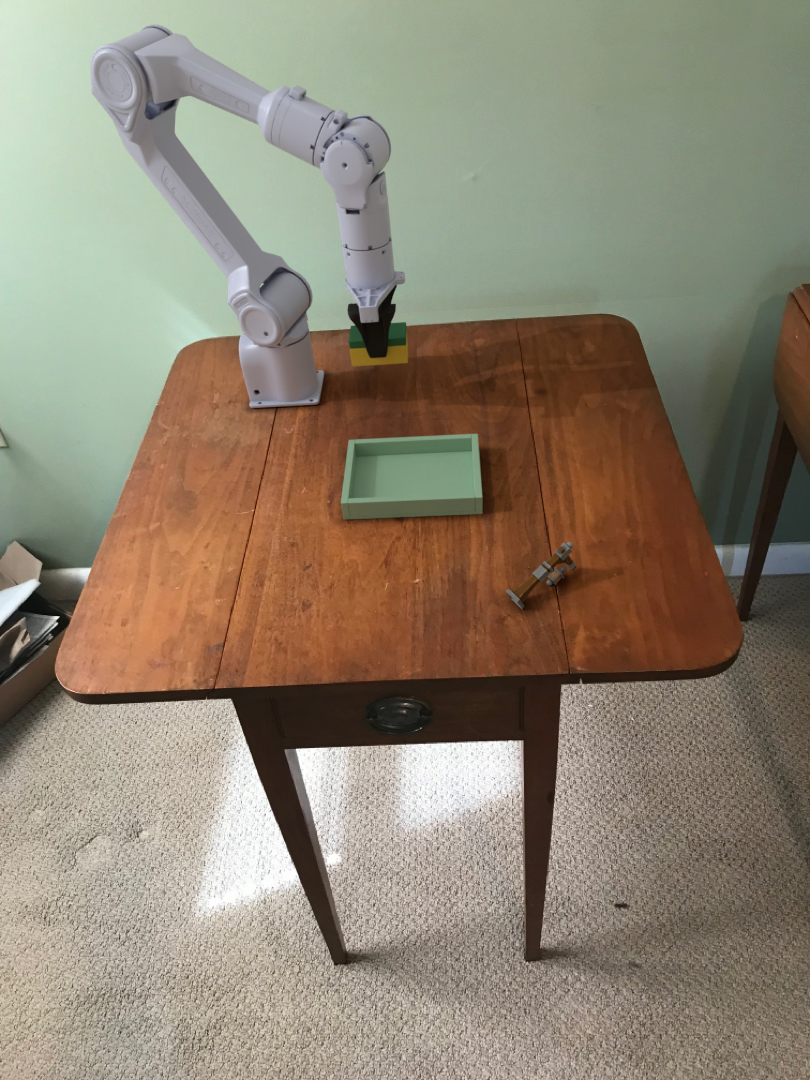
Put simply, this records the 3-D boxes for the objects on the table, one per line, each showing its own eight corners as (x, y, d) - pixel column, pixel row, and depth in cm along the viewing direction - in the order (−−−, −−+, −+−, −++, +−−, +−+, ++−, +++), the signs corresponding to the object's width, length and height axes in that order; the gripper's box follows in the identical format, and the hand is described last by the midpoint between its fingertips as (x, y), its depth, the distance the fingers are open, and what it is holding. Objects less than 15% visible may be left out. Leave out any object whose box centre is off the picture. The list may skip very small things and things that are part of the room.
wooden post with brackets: (587, 564, 77) (576, 543, 74) (529, 619, 77) (516, 601, 74) (574, 554, 78) (563, 533, 75) (518, 608, 78) (504, 589, 75)
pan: (343, 519, 86) (340, 503, 85) (351, 455, 95) (348, 439, 93) (482, 514, 85) (482, 497, 84) (478, 450, 94) (477, 433, 92)
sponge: (352, 366, 96) (348, 341, 94) (354, 350, 99) (350, 325, 97) (407, 363, 96) (405, 337, 93) (408, 346, 99) (406, 321, 96)
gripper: (400, 265, 82) (410, 376, 91) (402, 212, 92) (411, 316, 101) (334, 270, 82) (351, 379, 91) (344, 216, 92) (357, 319, 102)
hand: (378, 346), depth 97 cm, fingers closed on sponge, 4 cm apart
